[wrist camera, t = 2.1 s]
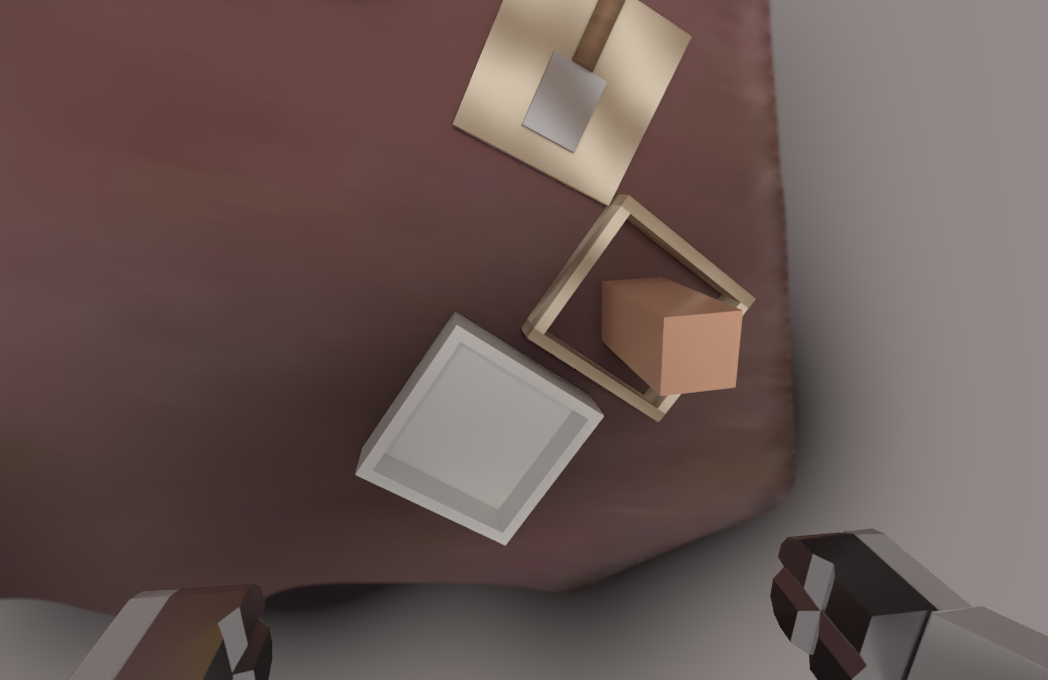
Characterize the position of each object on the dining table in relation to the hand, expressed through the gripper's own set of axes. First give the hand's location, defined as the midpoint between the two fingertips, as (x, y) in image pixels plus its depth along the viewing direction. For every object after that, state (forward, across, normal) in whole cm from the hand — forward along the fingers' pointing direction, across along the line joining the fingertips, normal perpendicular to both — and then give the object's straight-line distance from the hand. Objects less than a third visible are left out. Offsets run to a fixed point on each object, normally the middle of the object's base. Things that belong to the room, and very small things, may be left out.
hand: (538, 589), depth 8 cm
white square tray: (+26, 0, -11) cm, 29 cm away
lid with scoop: (+27, +6, +12) cm, 30 cm away
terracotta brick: (+27, +11, -3) cm, 30 cm away
